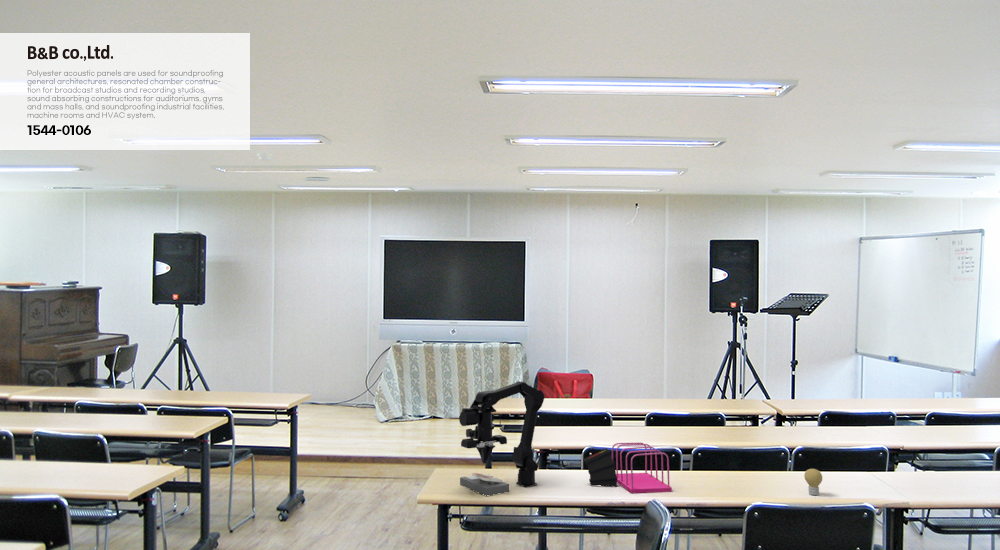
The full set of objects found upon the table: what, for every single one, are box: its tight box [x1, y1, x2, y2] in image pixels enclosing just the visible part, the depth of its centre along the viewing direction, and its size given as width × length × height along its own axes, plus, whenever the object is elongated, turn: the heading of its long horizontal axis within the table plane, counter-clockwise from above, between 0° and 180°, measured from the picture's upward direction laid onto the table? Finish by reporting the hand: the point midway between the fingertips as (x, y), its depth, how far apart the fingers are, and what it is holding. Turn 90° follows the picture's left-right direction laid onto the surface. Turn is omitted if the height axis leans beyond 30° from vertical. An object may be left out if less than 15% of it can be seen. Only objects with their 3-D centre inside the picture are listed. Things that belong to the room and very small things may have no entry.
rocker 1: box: [471, 472, 494, 478], centre depth 255 cm, size 8×4×1 cm, turn 123°
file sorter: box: [611, 442, 673, 494], centre depth 261 cm, size 17×25×16 cm
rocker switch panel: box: [459, 475, 510, 497], centre depth 254 cm, size 11×20×4 cm, turn 34°
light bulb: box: [804, 468, 823, 496], centre depth 246 cm, size 6×6×10 cm
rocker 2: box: [480, 476, 503, 482], centre depth 250 cm, size 8×4×1 cm, turn 123°
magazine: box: [583, 448, 618, 487], centre depth 259 cm, size 4×13×15 cm, turn 85°
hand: (484, 463), depth 248 cm, fingers closed
